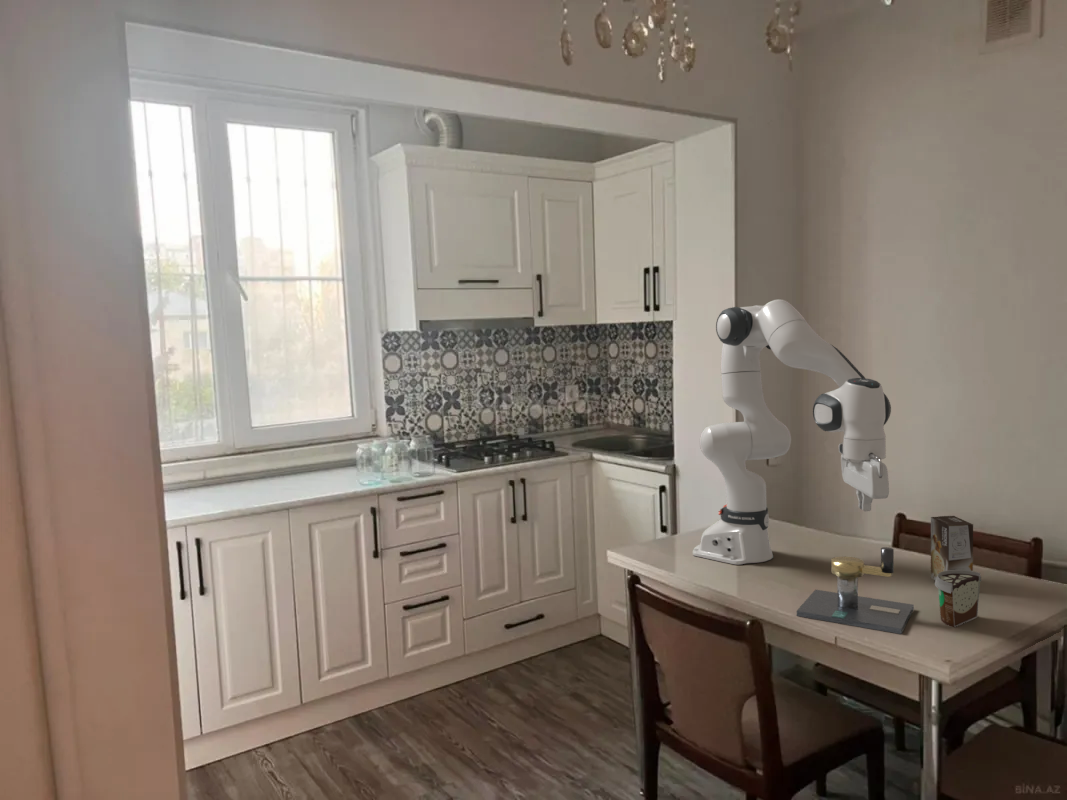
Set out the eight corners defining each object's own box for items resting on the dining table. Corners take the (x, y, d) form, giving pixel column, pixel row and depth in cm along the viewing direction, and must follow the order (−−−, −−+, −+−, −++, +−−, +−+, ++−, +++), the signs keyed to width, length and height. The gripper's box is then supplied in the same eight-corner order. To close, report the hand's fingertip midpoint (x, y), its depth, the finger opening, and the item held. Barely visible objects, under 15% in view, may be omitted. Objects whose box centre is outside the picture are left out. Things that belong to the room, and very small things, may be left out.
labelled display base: (796, 615, 178) (796, 580, 178) (815, 594, 192) (815, 561, 191) (901, 634, 166) (901, 596, 165) (913, 609, 179) (913, 574, 178)
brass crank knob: (828, 574, 179) (827, 546, 179) (835, 566, 185) (835, 538, 184) (890, 583, 172) (890, 553, 171) (896, 574, 178) (896, 545, 177)
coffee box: (974, 588, 191) (975, 524, 189) (948, 589, 191) (948, 525, 189) (953, 576, 200) (954, 515, 198) (928, 577, 200) (929, 516, 198)
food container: (953, 607, 179) (954, 565, 178) (981, 615, 174) (981, 572, 173) (922, 620, 173) (923, 577, 172) (950, 629, 167) (950, 584, 166)
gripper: (896, 457, 166) (897, 520, 167) (863, 443, 186) (863, 499, 188) (866, 458, 167) (866, 521, 168) (836, 444, 187) (836, 500, 188)
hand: (864, 510), depth 178 cm, fingers closed
